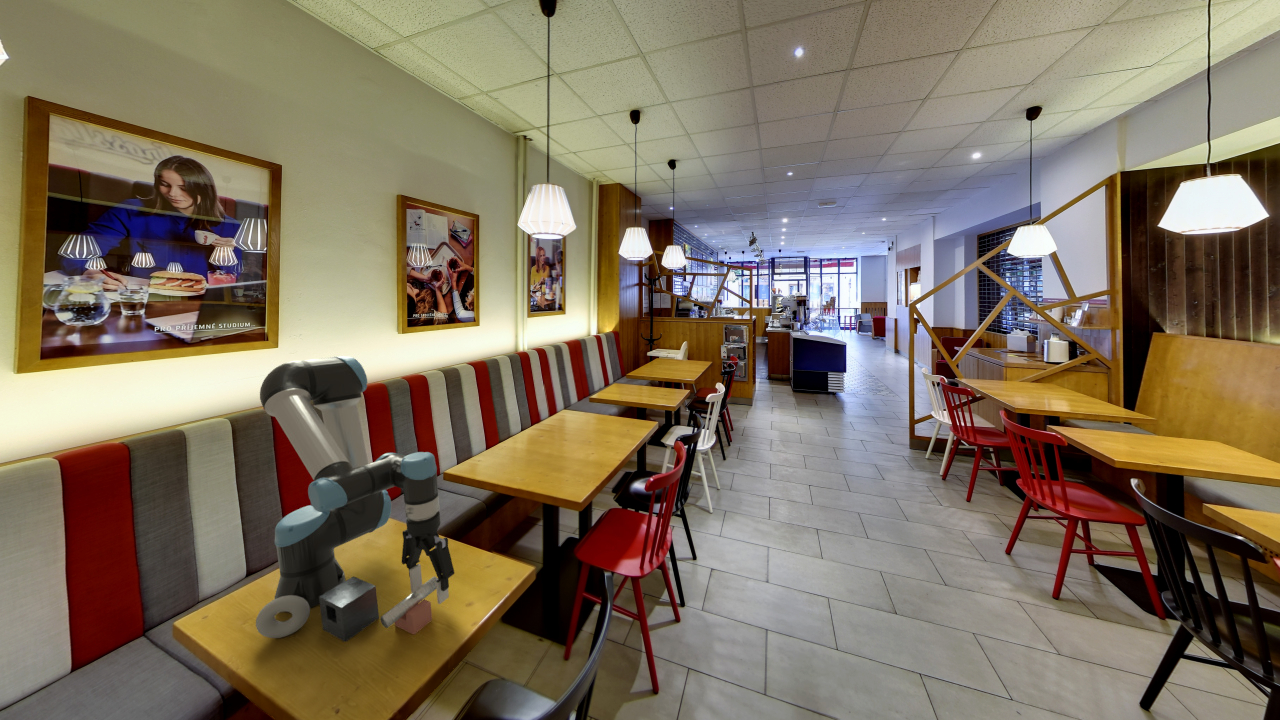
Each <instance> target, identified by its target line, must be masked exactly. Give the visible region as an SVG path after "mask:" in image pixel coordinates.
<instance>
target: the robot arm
mask: <svg viewBox="0 0 1280 720" xmlns="http://www.w3.org/2000/svg"><path fill="white" fill-rule="evenodd" d="M367 388H368V376H367V374H366V370H365V369H364V366H362V363H360V362H359V361H358V359H356V358H354V357H352V356H332V357H331V356H330V357H324V358H323V357H322V358H321V357H320V358H313V359H304V360H292V361H288V362H285V363H282V364H280V365H278V366H277V367H275V368H274V369H272V370H271V371H270V372H269V373H268V374H267V375H266V376H265V377H264V380H263V381H262V384H261V386H260V390H259V400H260V403H261V405H262V407H263V409H264V411H265V412H266V414H268V415H269V416H271V417H275V419H276V420H277V422H278V424H279V426H280V427H281V429H282V431H283V432H284V434H285V435H286V437H287V438H288V440H289V442H290V444H291V445H292V447H293V449H294V450H295V452H296V453H297V455H298V457H299V459H300V460H301V462H302V463H303V466H305V468H306V470H307V472H308V473H309V474H310V476H311V478H312V480H313V481H311V483H309V485H308V489H307V494H308V499H309V500H310V505H306V506H303V507H300V508H299V509H295V510H294V511H292V512H290V513H288V514H287V515H285V516H284V517H282V518H281V519H280V521H279V522H277V524H276V526H275V529H274V545H275V548H276V553H277V554H276V555H277V563H278V567H279V574H280V577H279V580H278V583H277V586H276V591H275V593H274V599H277V598H279V597H282V596H288V595H294V596H299V597H302V598H304V599H305V600H306V601H307V602H308V604H309V606H310V609H312V608H315V607H316V606H318V605H319V606H320V602H319V596H321V595H322V594H324V593H326V592H328V591H329V590H331V589H333V588H334V587H336V586H338V585H340V584H341V583H343V582H345V581H346V575H345V571H344V569H343V568H342V567H341V566H342V565H340V563H339V561H338V560H337V559H336V556H335V548H338V547H340V546H342V545H345V544H346V543H349V542H351V541H353V540H356V539H358V538H361V537H362V536H364V535H367V534H370V533H373V532H375V531H376V530H377V529H379V528H382V527H383V526H385V525H386V524H387V523H388V521H389V519H390V517H391V513H392V500H391V497H390V495H389V492H388V491H387V490H388V489H391V488H394V487H396V488H399V489H402V491H403V500H404V507H405V508H404V509H405V517H406V519H405V521H406V529H405V530H403V531H402V537H403V540H402V541H403V542H402V555H401V564H402V565H406V568H407V569H408V577H409V581H410V583H409V584H410V593H413V592H414V591H415V590H417V589H418V588H419V587H421V586H422V585H423V577H422V565H421V564H420V562H421V560H420V558H421V555H422V553H423V551H424V554H425V555H426V556H427V557H428V558H429V559H430V562H431V564H432V567H433V570H434V571H435V574H436V577H437V578H438V579H436V588H437V589H436V597H437V604H439V605H440V604H442V603H444V602H445V601H446V600H447V599H448V598H449V594H450V593H449V589H450V588H449V587H450V583H449V578H451V577H452V576H453V575H455V568H454V565H453V561H452V555H451V553H450V549H449V539H448V537H444V538H441V537H440V535H439V532H438V531H439V530H438V529H439V528H440V525H441V515H440V514H441V513H440V498H439V488H438V485H439V484H438V474H437V472H438V471H437V470H438V467H437V463H436V458H435V455H434V454H433V453H431V452H429V451H425V452H424V451H417V452H413V453H409V454H408V455H404V454H401V453H397V452H386V453H384V454H382V455H380V456H379V457H378V458H377V459H376V460H375V461H374V462H371V463H370V462H369V460H368V455H367V449H366V445H365V443H366V442H365V439H364V434H363V428H362V424H361V419H360V414H359V413H360V412H359V409H358V403H360V401H361V399H362V398H363V397H362V393H363V392H365V391H366V390H367ZM311 401H312V404H313V405H312V404H311ZM315 408H316V409H318V410H319V411H320V412H321V415H322V419H321V417H320V416H319V415H318V413H317V411H316V410H315ZM283 613H288V612H287V611H284V612H283Z"/></svg>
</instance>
